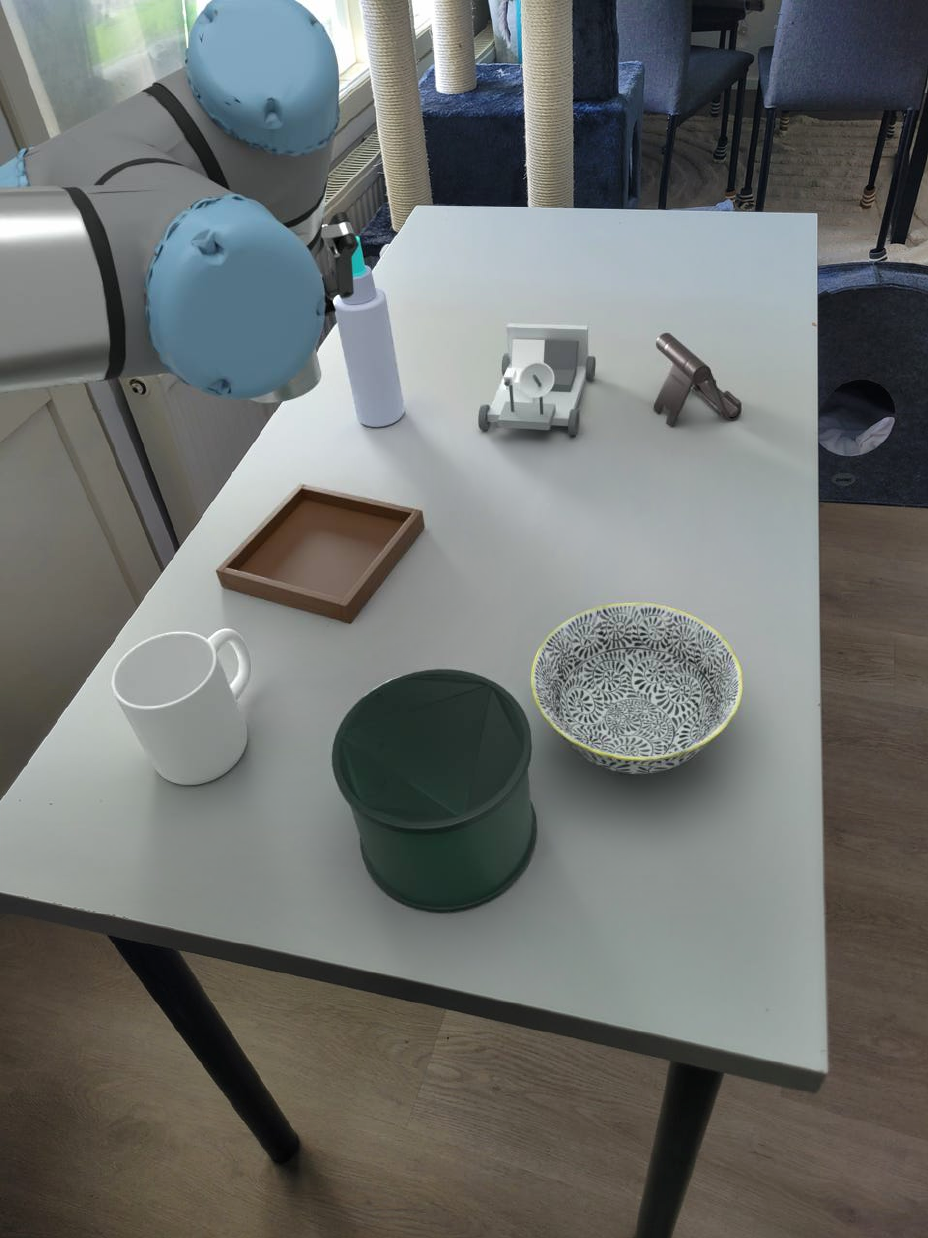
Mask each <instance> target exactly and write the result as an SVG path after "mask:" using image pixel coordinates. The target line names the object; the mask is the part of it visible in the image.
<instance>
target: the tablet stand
mask: <svg viewBox="0 0 928 1238" xmlns="http://www.w3.org/2000/svg"><path fill="white" fill-rule="evenodd" d="M655 347H656V349H657V350H658V351H659V352H660V353H661V354H663V355H664V356H665V357H666V358H667V359H668V360H670V361H671V365H670V367H669V370H668V372H667V373H666V376H665V379H664V381H663V384H662V386H661V388H660V391H659V392H658V395H657V397H656V399H655V402H654V404H653V406H652V407H653V408H652V409H653V410H654V412H655V413H656V414H657V415H660V414H661V412H662V410H663V408H665V409H667V411H668V415H667V418H666V422H665V423H666V424H667V425H668V426H669V427H674V426H675V425H676V423H677V420H679V419H678V418H679V417H680V414H681V412H682V410H683V407H684V405H685V403H686V401H687V398H688V397H689V394H690V392H691V390H692V389H693V390H694V391H695V392H696V393H698V394H699V395H700V396H701V397H702V398H704V399H705V400H706V401H707V403H709V404H710V405H711V406H712V407H713V408H714V409H716V411H718V412H719V414H720V415H721V416H722V417H724V419H727V421H730V422H732V421H735V420H737V419H739V417H740V416H741V415H742V410H743V409H742V407H743V405H742V401H740V400H739V399H738V398H737V397H736V396H734V395H733V394H732V393H731V392H730V391H729V390H725V391H724V392H723V391H722V390H721V389H720V388H719V387H718V385H717V380H716V379H715V377H714V375H713V373H712V369H711V368H710V367H709V366H708V365H707V364H706V363H705V362H704V361H702V359H700V358H699V357H698V356H697V355H696V354H694V353H693V352H692V351H691V350H690V349H689V348H688V347H687V346H685V345H684V344H683V343H682V342H681V341H680V340H678V339H677V338H676V337H675V336H673V335H672V334H671V333H670V332H663V333H661V334H660V335H658V337H657V339H656V341H655Z"/></svg>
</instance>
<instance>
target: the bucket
mask: <svg viewBox="0 0 928 1238" xmlns="http://www.w3.org/2000/svg"><path fill="white" fill-rule="evenodd" d="M532 741H533V740H532V730H531V726H530V722H529V720H528V717H527V715H526V713H525V710H524V709H523V707H522V706H521V704H520V703H519V702H518V700H517V699H516V698H515V696H513V695H512V694H511V693H510V692H509V690H507V689H505V688H504V687H503V686H501V685H500V684H499V683H497V682H495V681H493V680H491V679H489V678H487V677H485V676H482V675H479V674H476V673H474V672H469V671H465V670H461V669H460V670H459V669H452V668H434V669H423V670H418V671H413V672H410V673H405V674H402V675H399V676H397V677H394V678H391V679H389V680H387V681H386V682H383V683H381V684H379V685H378V686H376V687H375V688H373V689H371V690H369V691H368V693H365V695H364V696H362V697H361V698H360V699H359V700H358V701H357V702H356V703H355V704H354V705H353V706H352V707H351V708H350V710H349V711H348V712H347V713H346V714H345V716H344V717H343V719H342V721H341V722H340V724H339V726H338V728H337V731H336V733H335V736H334V739H333V743H332V748H331V749H332V750H331V768H332V772H333V776H334V780H335V782H336V785H337V787H338V790H339V792H340V794H341V795H342V797H343V798H344V800H345V802H347V804H348V805H349V807H350V809H351V813H352V816H353V819H354V822H355V825H356V828H357V832H358V834H359V844H360V845H359V847H360V852H361V856H362V860H363V863H364V865H365V868H366V871H367V873H368V874H369V876H370V877H371V879H372V881H373V882H374V883H375V884H376V886H377V888H379V889H380V890H381V891H382V892H383V893H385V894H386V896H388V897H390V898H391V899H393V900H394V901H396V902H397V903H399V904H402V905H403V906H405V907H407V908H411V909H413V910H417V911H421V912H427V913H435V914H436V913H438V914H447V913H449V914H450V913H458V912H464V911H468V910H472V909H474V908H479V907H481V906H483V905H485V904H488V903H489V902H491V901H493V900H494V899H496V898H498V897H500V896H501V895H503V894H504V893H505V892H506V891H507V890H509V889H510V888H511V887H512V886H513V885H514V884H515V883H516V882H517V881H518V880H519V879H520V878H521V876H522V875H523V873H524V872H525V871H526V869H527V867H528V865H529V864H530V862H531V861H532V860H531V859H532V857H533V856H534V852H535V848H536V844H537V837H538V824H537V823H538V822H537V815H536V810H535V807H534V805H533V802H532V798H531V787H530V786H531V785H530V775H529V768H530V764H531V760H532V754H533V753H532V751H533V742H532Z"/></svg>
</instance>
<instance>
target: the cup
mask: <svg viewBox="0 0 928 1238" xmlns="http://www.w3.org/2000/svg"><path fill="white" fill-rule="evenodd" d="M226 643H229V644H230V645H231V646H232V648H233V650H234V651H235V654H236V657H237V661H238V662H237V663H238V669H237V674H236V676H235V678H234V679H233V681H232V682H231V684H230V682H229V680H228V677H227V675H226V673H225V670H224V667H223V665H222V663H221V660H220V657H219V654H218V652H219V651H220V650H221V648H222V647H224V645H225V644H226ZM251 673H252V659H251V654H250V651H249V648H248V646H247V644H246V642H245V640H244V639H243V638H242V636H241V635H240V633H238V632H236V631H235V630H234V629H231V628H222V629H220V630H217V631H215V632H214V633H213V634H212V635H210V636H209V637H208V638H206V637H205V636H202V635H200V634H198V633H195V632H190V631H171V632H166V633H162V634H158V635H154V636H151V637H149V638H148V639H145V640H143V641H141V642H140V643H138V644H136V645H135V646H134V647H132V648H131V649H130V650H128V651H127V652H126V653H125V654H124V655H123V656H122V657H121V659H120V660H119V661H118V662H117V664H116V666H115V667H114V670H113V672H112V675H111V680H110V685H111V687H110V688H111V691H112V694H113V695H114V698H115V699H116V701H117V702H118V705H119V706H120V708H121V710H122V713H123V714H124V715H125V718H126V720H127V721H128V723H129V725H130V727H131V728H132V731H133V732H134V734H135V736H136V738H137V739H138V741H139V743H140V745H141V747H142V749H143V751H144V753H145V754H146V756H147V758H148V760H149V762H150V763H151V765H152V766H153V768H154V770H155V771H156V772H157V773H158V774H159V775H160V776H161V777H162V778H163V779H165V780H167V781H169V782H171V783H174V784H177V785H182V786H196V785H202V784H205V783H209V782H212V781H214V780H216V779H218V778H220V777H222V776H223V775H225V774H226V773H228V772H229V771H230V770H232V768H233V767H235V765H237V763H238V762H239V760H240V759H241V757H242V756H243V755H244V753H245V750H246V747H247V742H248V729H247V725H246V722H245V719H244V716H243V713H242V711H241V709H240V707H239V705H238V702H237V700H238V699H239V698H240V696H241V695H242V693H243V692H244V690H245V689H246V687H247V684H248V683H249V680H250V678H251Z"/></svg>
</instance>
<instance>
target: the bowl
mask: <svg viewBox="0 0 928 1238" xmlns="http://www.w3.org/2000/svg"><path fill="white" fill-rule="evenodd" d="M530 676H531V677H530V684H531V691H532V696H533V699H534V701H535V703H536V706H537V708H538V710H539V711H540V713H541V715H542V716H543V718H544V719H545V720H546V722H547V723H548V724H549V725H550V726H551V727H552V728H553V729H554V730H555V731H556V732H557V733H558V734H559V735H560V736H561V738H562V739H563V740H564V741H565V743H567V745H568V746H570V747H571V749H572V750H574V751H575V752H576V753H577V754H578V755H580V756H581V757H583V758H584V759H586V760H587V761H589V762H591V763H593V764H594V765H597V766H599V767H601V768H604V769H607V770H610V771H613V772H617V773H622V774H631V775H635V774H636V775H646V774H647V775H648V774H654V773H659V772H664V771H667V770H671V769H672V768H677V767H678V766H681V765H682V764H684V763H686V762H688V761H689V760H690V759H692V758H694V757H695V756H697V755H698V754H699V753H700V752H701V751H703V750H704V749H705V747H707V745H708V744H709V743H710V742H711V741H712V740H714V739H715V738H717V736H718V735H720V734H721V733H722V732H723V731H724V730H725V729H726V727H727V726H728V725H729V723H730V722H731V721H732V719H733V718H734V716H735V714H736V713H737V711H738V709H739V706H740V703H741V700H742V697H743V690H744V689H743V686H744V680H743V672H742V668H741V664H740V662H739V659H738V657H737V655H736V653H735V651H734V650H733V648H732V647H731V645H730V644H729V642H727V641H726V639H725V638H724V637H723V636H722V635H721V634H720V633H719V632H718V631H716V630H715V629H714V628H713V627H712V626H710V625H709V624H708V623H706V622H704V621H703V620H701V619H700V618H698V617H695V616H693V615H691V614H690V613H687V612H685V611H682V610H679V609H676V608H673V607H669V606H665V605H660V604H656V603H655V604H654V603H647V602H623V603H622V602H621V603H612V604H607V605H602V606H597V607H595V608H590V609H588V610H585V611H583V612H581V613H578V614H576V615H574V616H572V617H571V618H569V619H566V621H563V622H562V623H561V624H560V625H558V626H556V628H555V629H553V630H552V631H551V632H550V634H549V635H548V636H547V637H546V638H545V639H544V640H543V642H542V643H541V645H540V646H539V648H538V650H537V652H536V655H535V657H534V659H533V663H532V666H531V674H530Z"/></svg>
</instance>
